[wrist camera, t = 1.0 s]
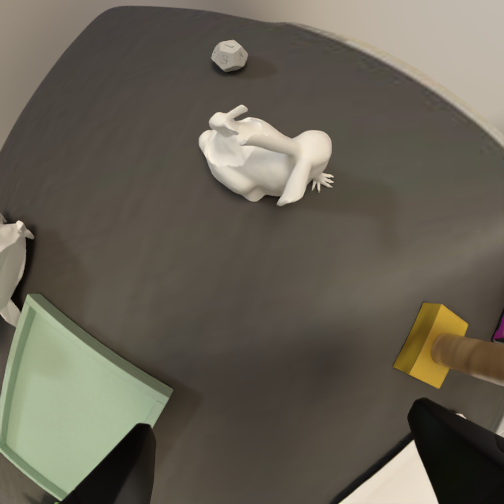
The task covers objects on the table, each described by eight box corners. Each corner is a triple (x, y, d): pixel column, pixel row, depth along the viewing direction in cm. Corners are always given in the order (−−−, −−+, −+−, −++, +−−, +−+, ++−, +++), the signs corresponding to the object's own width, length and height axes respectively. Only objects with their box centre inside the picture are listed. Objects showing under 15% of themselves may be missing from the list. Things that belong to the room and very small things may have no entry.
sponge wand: (422, 381, 24) (519, 423, 10) (392, 366, 24) (497, 414, 10) (450, 321, 25) (553, 335, 11) (423, 302, 25) (536, 310, 11)
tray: (102, 514, 19) (97, 523, 17) (3, 441, 19) (-5, 447, 17) (173, 389, 22) (169, 398, 20) (39, 293, 22) (27, 293, 19)
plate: (481, 456, 24) (488, 460, 22) (378, 548, 21) (382, 553, 19) (447, 389, 24) (456, 393, 22) (302, 514, 21) (306, 522, 20)
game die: (225, 50, 25) (226, 31, 22) (253, 63, 25) (256, 45, 22) (204, 67, 25) (203, 48, 22) (232, 82, 25) (233, 63, 22)
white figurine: (335, 178, 25) (387, 130, 15) (304, 253, 24) (351, 236, 14) (217, 121, 24) (214, 50, 15) (175, 191, 24) (147, 139, 14)
